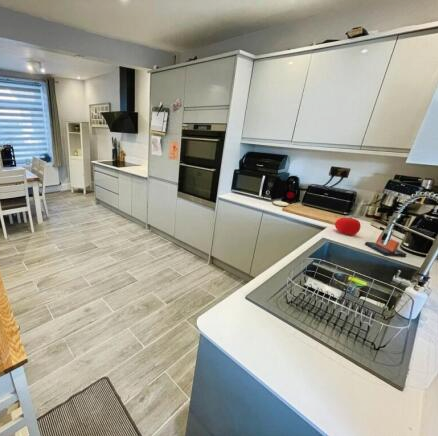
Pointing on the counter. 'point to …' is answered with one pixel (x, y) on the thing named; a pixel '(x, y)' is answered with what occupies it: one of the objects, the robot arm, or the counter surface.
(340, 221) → the tomato
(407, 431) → the counter surface
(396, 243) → the orange rectangular block
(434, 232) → the robot arm
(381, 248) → the dark grey square plate
